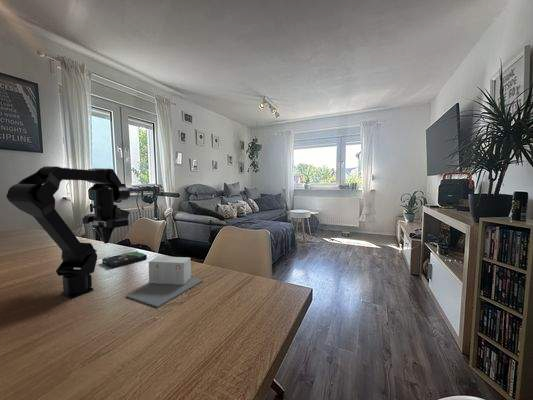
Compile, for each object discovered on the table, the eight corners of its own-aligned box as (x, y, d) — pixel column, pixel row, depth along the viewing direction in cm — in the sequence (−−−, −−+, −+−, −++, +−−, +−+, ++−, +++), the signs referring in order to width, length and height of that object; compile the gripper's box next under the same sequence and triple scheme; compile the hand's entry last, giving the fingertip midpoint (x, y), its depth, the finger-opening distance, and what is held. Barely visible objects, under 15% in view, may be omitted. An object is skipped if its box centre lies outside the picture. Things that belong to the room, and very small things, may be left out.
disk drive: (111, 270, 97) (147, 260, 109) (111, 263, 96) (147, 254, 108) (101, 264, 103) (136, 255, 115) (101, 258, 102) (136, 250, 114)
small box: (158, 276, 89) (191, 278, 88) (148, 283, 83) (183, 285, 82) (157, 255, 88) (191, 257, 87) (148, 261, 82) (183, 263, 81)
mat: (157, 307, 68) (157, 306, 68) (126, 297, 74) (126, 295, 74) (202, 281, 86) (202, 280, 86) (174, 274, 92) (174, 273, 92)
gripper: (141, 202, 90) (142, 241, 91) (110, 199, 98) (112, 235, 99) (112, 204, 80) (113, 248, 81) (80, 201, 87) (82, 242, 89)
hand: (106, 243), depth 88 cm, fingers closed
